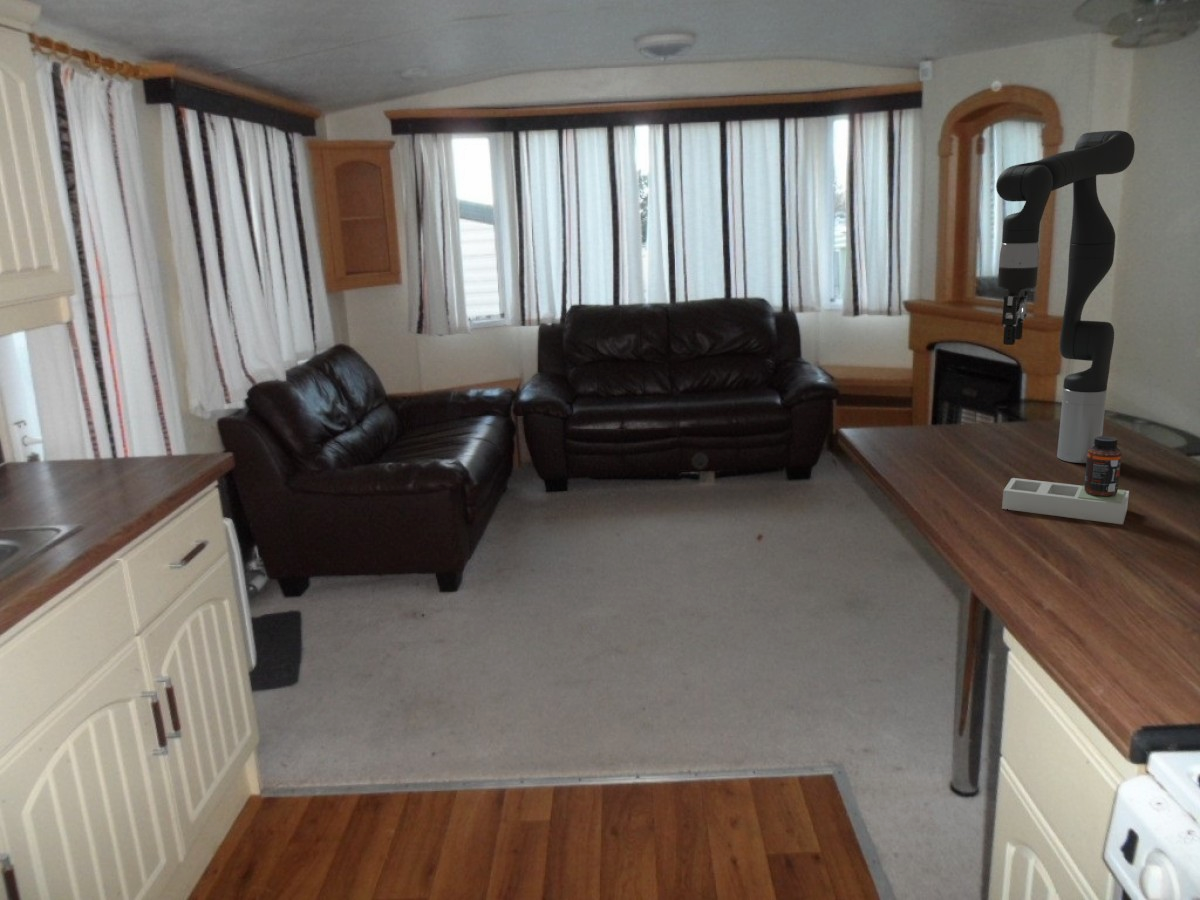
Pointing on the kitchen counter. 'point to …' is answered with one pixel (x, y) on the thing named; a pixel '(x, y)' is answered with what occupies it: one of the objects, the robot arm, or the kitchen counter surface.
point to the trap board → (1064, 501)
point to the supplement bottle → (1103, 467)
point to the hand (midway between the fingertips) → (1012, 341)
